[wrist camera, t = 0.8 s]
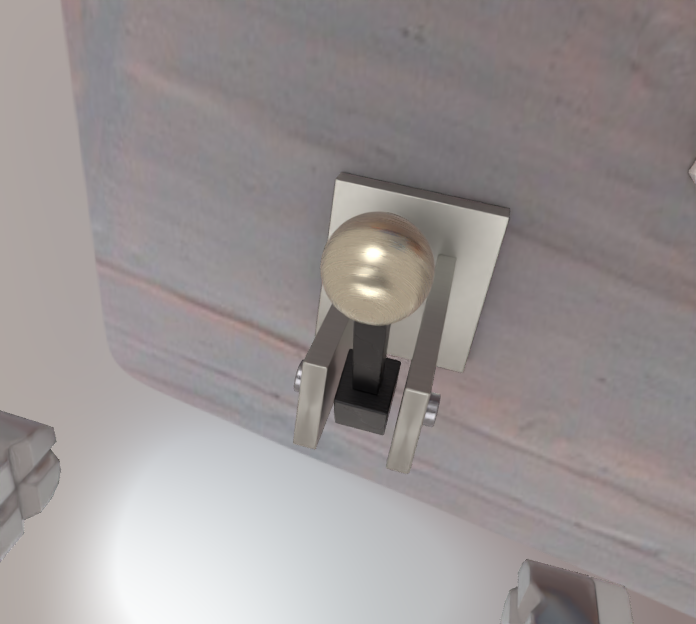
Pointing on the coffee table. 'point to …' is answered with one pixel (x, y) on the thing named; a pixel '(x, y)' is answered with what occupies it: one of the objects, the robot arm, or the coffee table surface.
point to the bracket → (420, 327)
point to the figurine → (693, 172)
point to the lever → (374, 306)
